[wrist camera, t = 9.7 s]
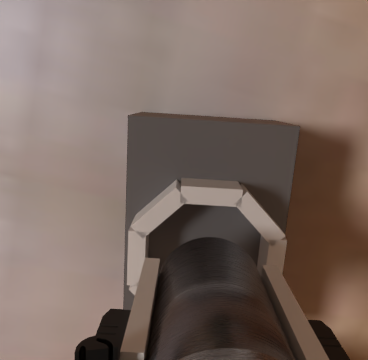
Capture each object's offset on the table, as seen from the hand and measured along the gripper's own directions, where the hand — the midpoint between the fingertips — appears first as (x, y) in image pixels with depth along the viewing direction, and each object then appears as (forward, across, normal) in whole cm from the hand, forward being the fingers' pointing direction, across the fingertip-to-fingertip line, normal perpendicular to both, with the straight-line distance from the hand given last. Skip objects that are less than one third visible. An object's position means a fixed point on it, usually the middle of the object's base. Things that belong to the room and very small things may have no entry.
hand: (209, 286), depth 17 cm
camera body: (+10, 0, 0) cm, 10 cm away
